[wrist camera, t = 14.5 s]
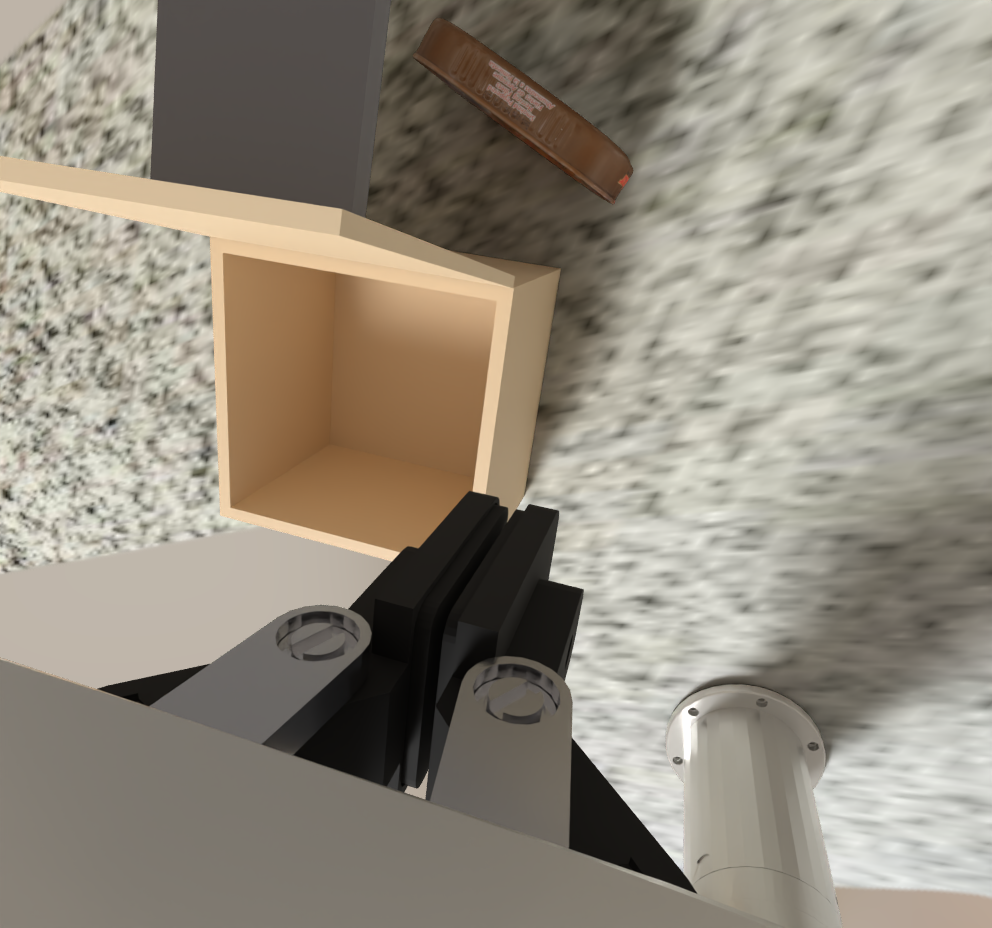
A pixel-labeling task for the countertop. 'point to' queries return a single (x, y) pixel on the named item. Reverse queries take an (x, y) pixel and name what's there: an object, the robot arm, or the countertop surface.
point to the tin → (524, 109)
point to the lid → (260, 135)
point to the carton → (371, 392)
